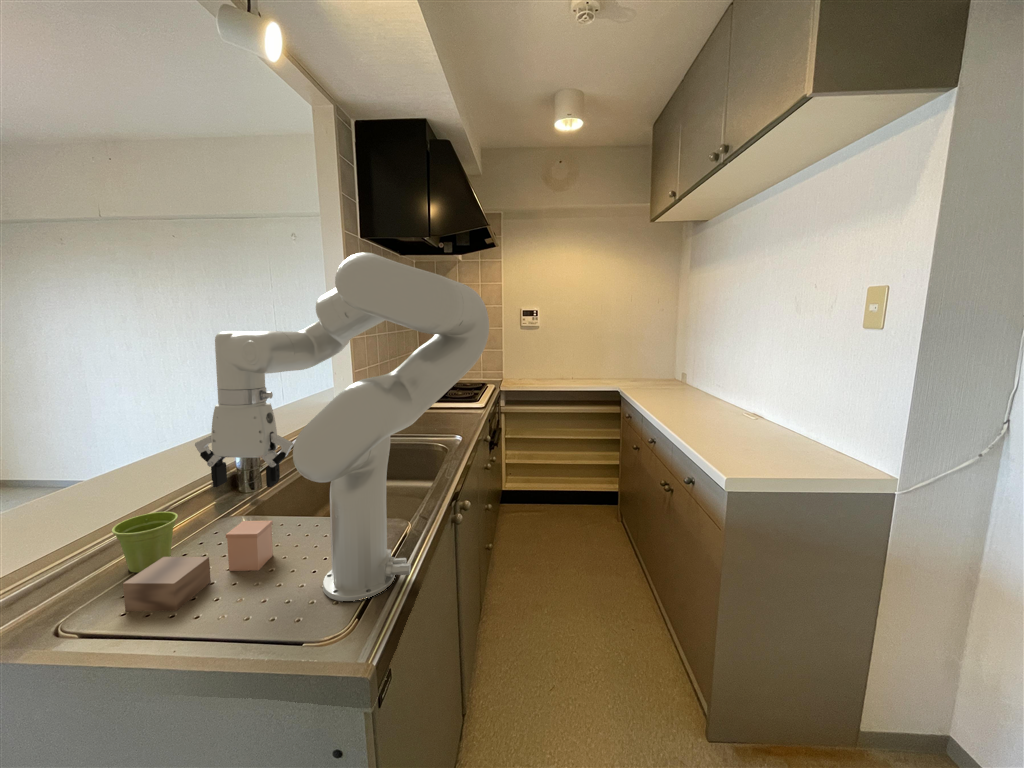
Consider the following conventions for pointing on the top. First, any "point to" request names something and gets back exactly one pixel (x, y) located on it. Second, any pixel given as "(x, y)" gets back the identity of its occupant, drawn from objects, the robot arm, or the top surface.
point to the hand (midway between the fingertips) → (246, 484)
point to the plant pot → (146, 538)
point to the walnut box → (166, 584)
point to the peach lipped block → (249, 545)
